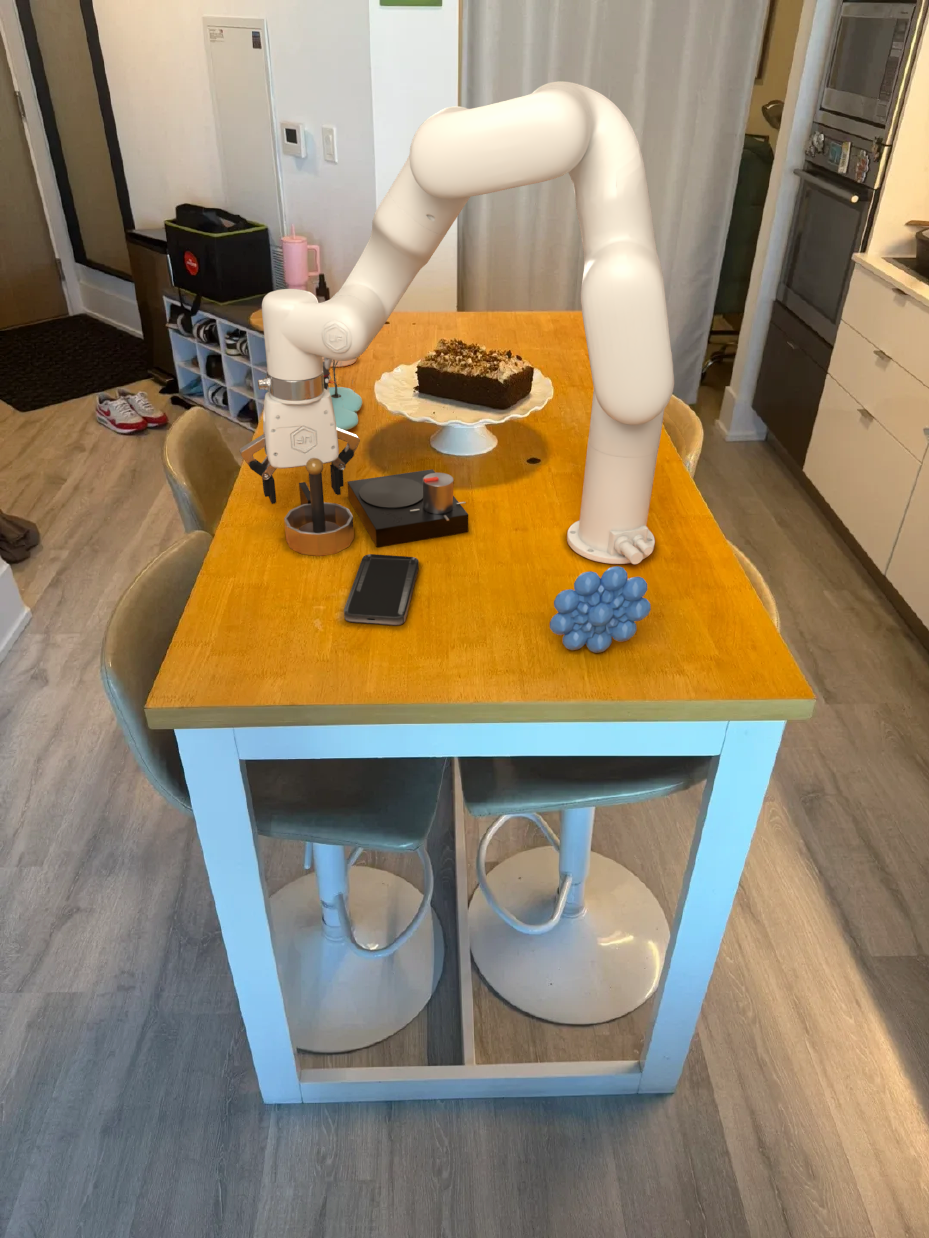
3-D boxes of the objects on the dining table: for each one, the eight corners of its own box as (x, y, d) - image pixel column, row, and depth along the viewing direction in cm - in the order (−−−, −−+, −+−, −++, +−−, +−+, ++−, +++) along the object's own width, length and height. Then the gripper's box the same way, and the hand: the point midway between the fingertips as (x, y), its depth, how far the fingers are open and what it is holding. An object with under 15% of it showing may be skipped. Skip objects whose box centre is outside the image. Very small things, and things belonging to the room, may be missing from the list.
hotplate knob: (446, 498, 136) (447, 469, 133) (457, 511, 132) (457, 481, 129) (419, 502, 134) (418, 473, 131) (428, 516, 131) (428, 486, 128)
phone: (419, 557, 125) (403, 618, 112) (419, 564, 125) (403, 626, 113) (363, 553, 125) (341, 614, 113) (363, 560, 126) (341, 621, 114)
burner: (434, 502, 134) (434, 501, 134) (369, 512, 131) (369, 511, 131) (413, 474, 142) (413, 473, 142) (351, 483, 139) (351, 482, 139)
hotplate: (475, 534, 133) (475, 515, 131) (378, 550, 128) (377, 531, 127) (437, 485, 146) (437, 467, 144) (348, 498, 141) (347, 480, 140)
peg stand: (347, 546, 129) (342, 465, 122) (303, 553, 127) (295, 471, 120) (336, 525, 134) (331, 446, 127) (293, 532, 132) (285, 452, 125)
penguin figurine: (356, 437, 161) (352, 353, 152) (296, 436, 160) (288, 351, 152) (365, 396, 177) (362, 317, 169) (310, 395, 177) (304, 316, 168)
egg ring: (360, 549, 129) (359, 524, 126) (294, 560, 126) (292, 535, 123) (333, 501, 140) (332, 478, 138) (273, 510, 138) (270, 486, 135)
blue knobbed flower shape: (638, 632, 113) (651, 549, 107) (646, 665, 108) (660, 579, 101) (545, 629, 113) (552, 546, 107) (548, 662, 108) (556, 576, 101)
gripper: (237, 400, 120) (250, 515, 129) (364, 388, 125) (367, 499, 135) (228, 381, 125) (241, 492, 135) (350, 370, 131) (354, 477, 140)
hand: (304, 495), depth 135 cm, fingers open, 9 cm apart
